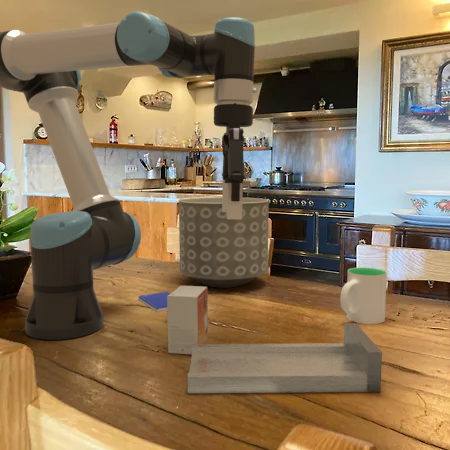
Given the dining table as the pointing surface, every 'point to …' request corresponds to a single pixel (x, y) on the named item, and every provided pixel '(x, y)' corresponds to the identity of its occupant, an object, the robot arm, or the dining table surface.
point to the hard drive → (155, 301)
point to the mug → (364, 295)
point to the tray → (288, 366)
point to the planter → (223, 241)
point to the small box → (187, 318)
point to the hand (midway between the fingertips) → (231, 215)
